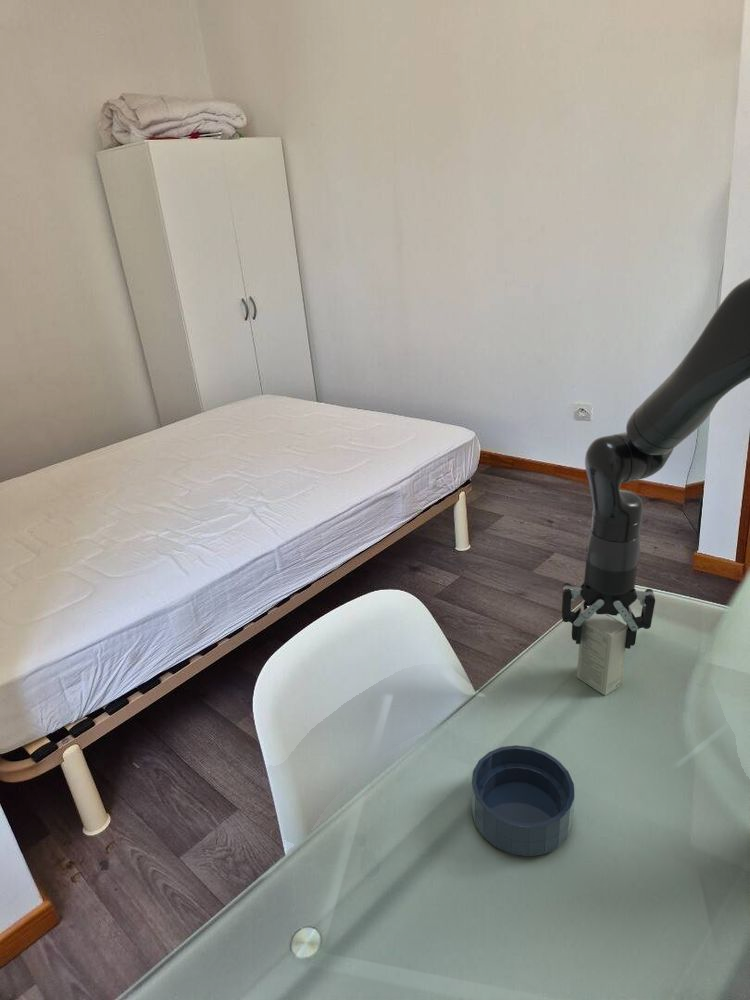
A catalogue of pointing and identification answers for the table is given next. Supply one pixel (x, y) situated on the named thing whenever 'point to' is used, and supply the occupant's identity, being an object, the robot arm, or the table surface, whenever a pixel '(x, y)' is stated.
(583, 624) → the cosmetic box
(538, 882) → the table surface
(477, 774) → the bowl
